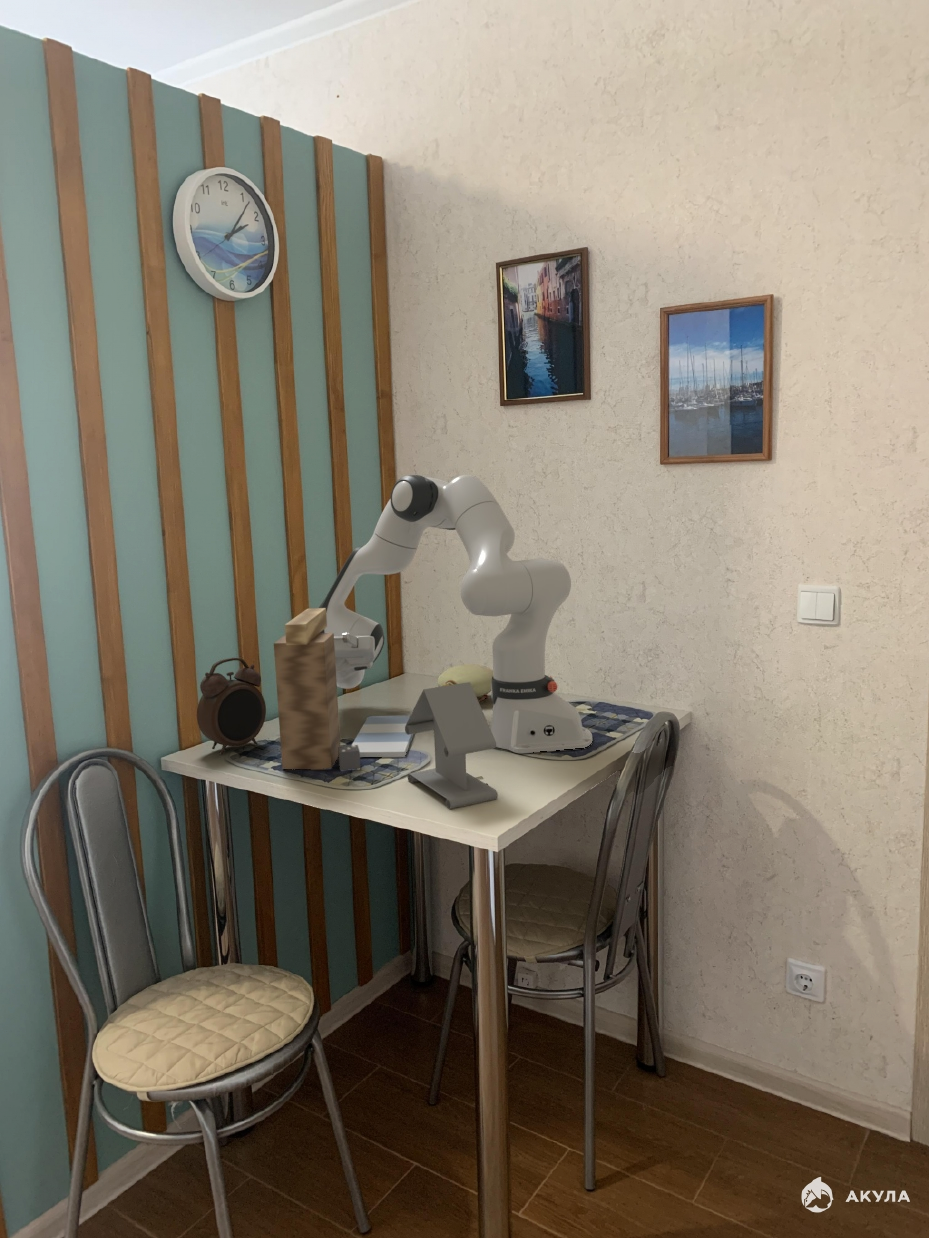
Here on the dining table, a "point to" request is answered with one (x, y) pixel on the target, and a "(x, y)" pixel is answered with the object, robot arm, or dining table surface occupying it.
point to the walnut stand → (307, 703)
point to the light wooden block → (305, 626)
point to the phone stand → (453, 742)
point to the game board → (383, 737)
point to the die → (349, 757)
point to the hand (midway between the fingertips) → (324, 636)
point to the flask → (469, 678)
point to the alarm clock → (231, 706)
